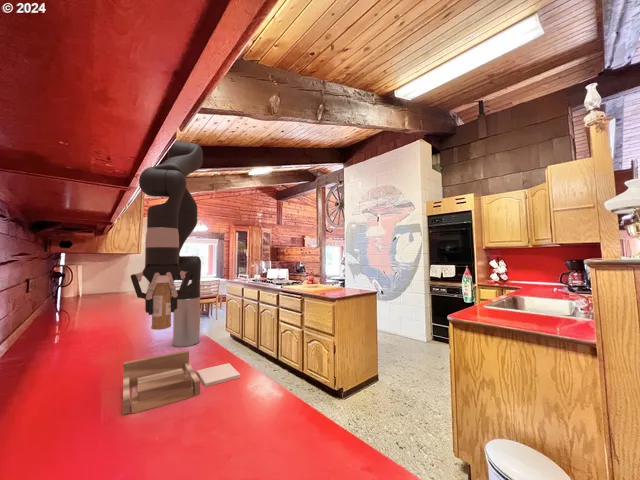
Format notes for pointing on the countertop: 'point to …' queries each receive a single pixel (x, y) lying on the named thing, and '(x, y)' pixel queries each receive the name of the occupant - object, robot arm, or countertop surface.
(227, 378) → the cream mat
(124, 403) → the frame
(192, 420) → the countertop surface
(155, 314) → the sprinkles bottle
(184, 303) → the robot arm
